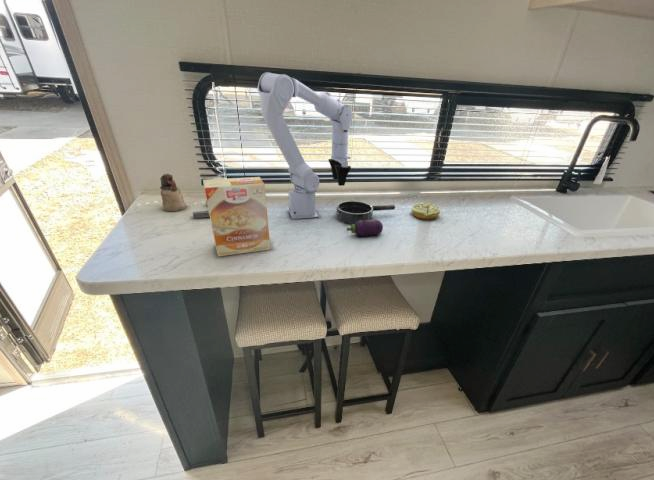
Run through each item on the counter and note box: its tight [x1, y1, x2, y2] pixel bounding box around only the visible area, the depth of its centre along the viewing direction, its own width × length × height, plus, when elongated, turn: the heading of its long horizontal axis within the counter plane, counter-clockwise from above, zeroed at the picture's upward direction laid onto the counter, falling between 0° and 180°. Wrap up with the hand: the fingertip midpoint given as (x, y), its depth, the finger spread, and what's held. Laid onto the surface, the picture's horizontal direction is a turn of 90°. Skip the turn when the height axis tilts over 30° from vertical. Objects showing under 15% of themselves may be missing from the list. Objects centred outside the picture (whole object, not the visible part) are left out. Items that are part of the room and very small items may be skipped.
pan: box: [336, 200, 374, 225], centre depth 121 cm, size 13×13×4 cm
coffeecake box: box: [202, 176, 271, 258], centre depth 93 cm, size 15×7×20 cm, turn 114°
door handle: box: [192, 199, 210, 219], centre depth 118 cm, size 3×20×16 cm
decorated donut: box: [410, 201, 441, 220], centre depth 127 cm, size 10×11×4 cm
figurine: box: [159, 172, 186, 212], centre depth 116 cm, size 7×7×12 cm
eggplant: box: [346, 219, 384, 237], centre depth 109 cm, size 12×5×5 cm
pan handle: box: [371, 204, 396, 212], centre depth 124 cm, size 10×2×2 cm, turn 108°
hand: (338, 182), depth 125 cm, fingers open, 7 cm apart
